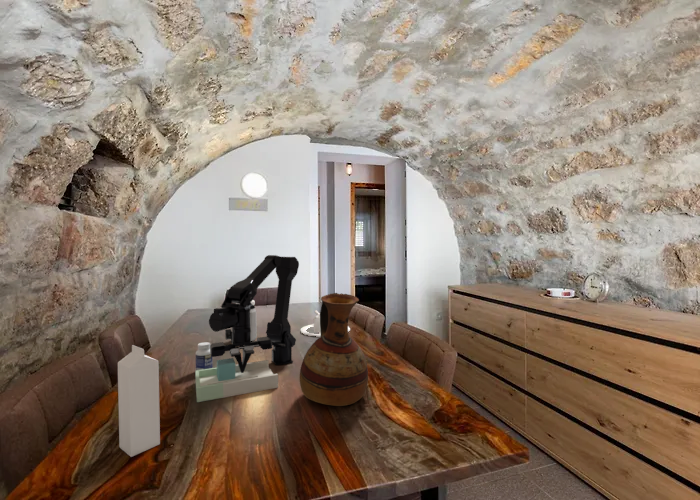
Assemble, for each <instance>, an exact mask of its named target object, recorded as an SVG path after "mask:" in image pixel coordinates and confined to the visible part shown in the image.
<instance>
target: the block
mask: <svg viewBox="0 0 700 500" xmlns="http://www.w3.org/2000/svg"><path fill="white" fill-rule="evenodd" d="M235 365H236V361H235V359H234V358H233V357H232V358H231V357H230V358H225V359H224V358H223V359H217V360H216V367H217V378H218V381H223V380H229V379H235Z"/></svg>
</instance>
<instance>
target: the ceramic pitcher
mask: <svg viewBox="0 0 700 500" xmlns="http://www.w3.org/2000/svg"><path fill="white" fill-rule="evenodd" d="M320 300H321V302H322V303H321V306H320V312H319V313H320V328H321V336H320V337H317V339H316V340H315V341H314V342H313V343H312V344H311V346H310V347H308V349H307V351H306V353H305V354H304V357H303V359H302V362H301V366H300V369H299V385H300V389H301V392H302V394H303V396H304V397H305V398H306V399H309V400H310V401H312V402H315V403H318V404H322V405H328V406H334V407H342V406H343V407H344V406H345V407H346V406H348V405H352V404H355V403H356V402H358V401H360V400H361V399H362V398H363V397H364V395H365V394H366V391H367V387H368V381H369V370H368V363H367V360H366V356H365V354H364V352H363V351H362V348H361V346H360V345H358V343H357V341H355V339H354V338H352V337H350V335H349V333H348V326H349V320H350V319H349V318H350V314H351V313H352V310H353V308H354V307H355V305H356V304H358V302H359V301H360V299H359V297H357V296H355V295H352V294H347V293H338V292H333V293H328V294H325V295H323V296H321V298H320Z"/></svg>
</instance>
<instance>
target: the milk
mask: <svg viewBox="0 0 700 500" xmlns="http://www.w3.org/2000/svg"><path fill="white" fill-rule="evenodd" d="M159 371H160V369H159V360H158V359H155V358H153V357H150V356H149V355H147V354H145V350H144V348H142V347H140V346H136V345H134V344H132V345H131V351H130V352H129V353H128V354H126V355H125V357H123V358H122V359H120V360H119V361H118V362H117V393H118V396H117V397H118V398H117V399H118V434H119V435H118V436H119V438H118V439H119V440H118V443H119V448H120V449H121V450H122V451H123V452H124V453H125V454H127V456H130V458H132V457H134V456H137V455H139V454H141V453H143V452H145V451H148V450H150V449H152V448H155V447H156V446H159V445H161V433H160V432H161V430H160V429H161V428H160V427H161V425H160V424H161V423H160V422H161V420H160V416H161V415H160V381H159V380H160V374H159V373H160V372H159Z"/></svg>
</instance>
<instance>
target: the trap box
mask: <svg viewBox="0 0 700 500" xmlns="http://www.w3.org/2000/svg"><path fill="white" fill-rule="evenodd" d="M194 372H195V392H196V403H200V402H205V401H212V400H217V399H222V398H229V397H234V396H239V395H244V394H249V393H255V392H261V391H267V390H272V389H277V388H279V374H278V373H274V372H273V371H272V369H271V368H270V366H269V359H265V360H260V361H259V360H258V361H257V360H256V361H251V362H247V365H246V367H245V370H244V373H241V371H240V368H239V365H238V363H237V364H235V379H229V380H223V381H218V378H217V366H216V367H213V368H209V369H203V370H196V369H195V371H194Z"/></svg>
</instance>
